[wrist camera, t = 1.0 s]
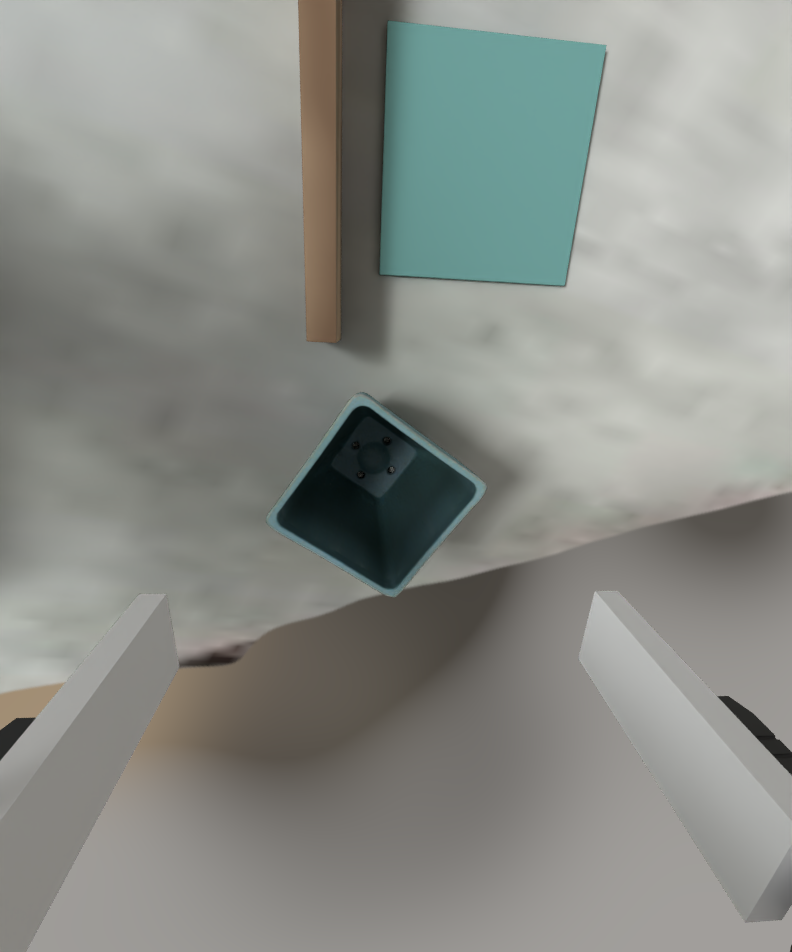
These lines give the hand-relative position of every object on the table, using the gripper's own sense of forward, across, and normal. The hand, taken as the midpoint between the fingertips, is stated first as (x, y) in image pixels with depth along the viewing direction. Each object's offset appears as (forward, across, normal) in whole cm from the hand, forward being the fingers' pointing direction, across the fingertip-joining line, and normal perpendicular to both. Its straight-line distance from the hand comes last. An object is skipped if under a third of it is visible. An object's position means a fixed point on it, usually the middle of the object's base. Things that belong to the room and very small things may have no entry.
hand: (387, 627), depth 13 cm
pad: (+18, +6, +18) cm, 26 cm away
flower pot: (+19, 0, 0) cm, 19 cm away
